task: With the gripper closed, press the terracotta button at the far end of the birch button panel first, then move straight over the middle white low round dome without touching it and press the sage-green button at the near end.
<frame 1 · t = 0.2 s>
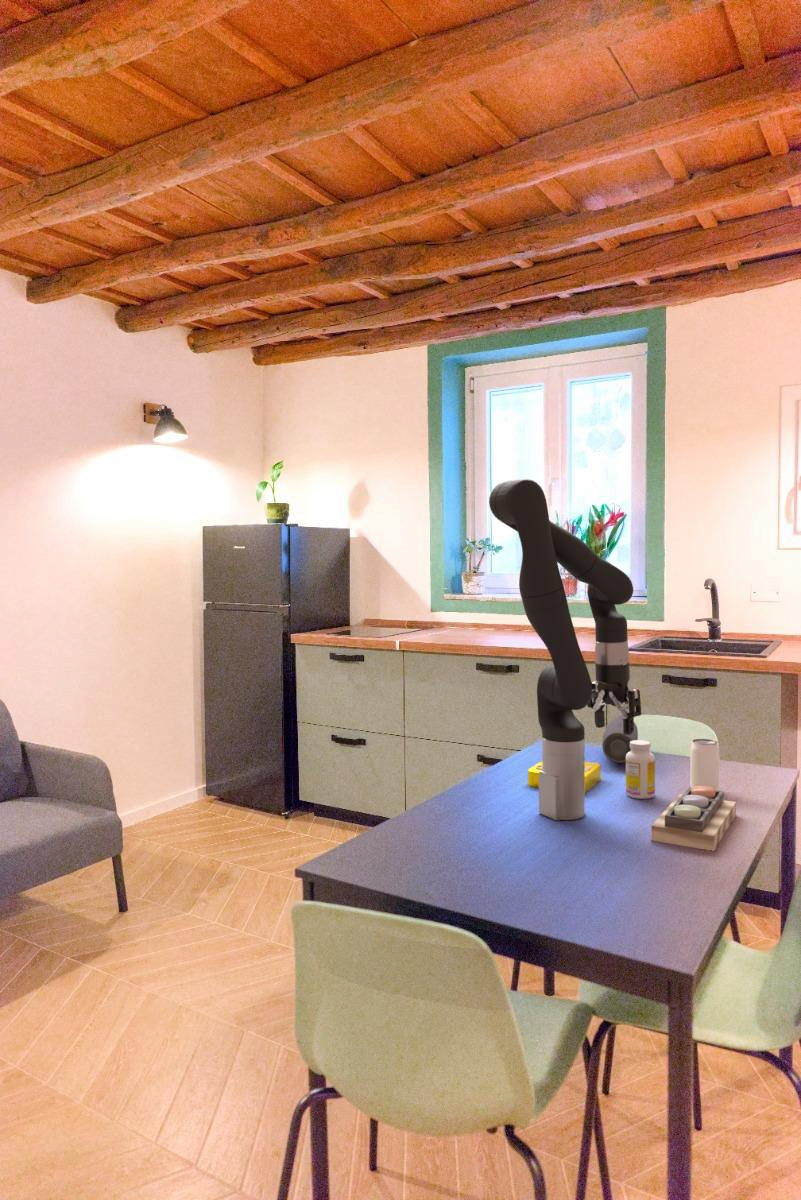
hand: (614, 730, 188), 17 cm above the table, tool pointing down, fingers open, 8 cm apart
button panel: (695, 827, 173), on the table
can: (704, 791, 198), on the table
supplement bottle: (640, 796, 195), on the table
button terracotta: (703, 793, 179), point 5 cm above the table, slide at 0.0 cm
button sage: (687, 812, 166), point 5 cm above the table, slide at 0.0 cm
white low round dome: (695, 802, 173), point 5 cm above the table, slide at 0.0 cm
bluetooth speaker: (620, 757, 231), on the table
element tile: (564, 784, 207), on the table
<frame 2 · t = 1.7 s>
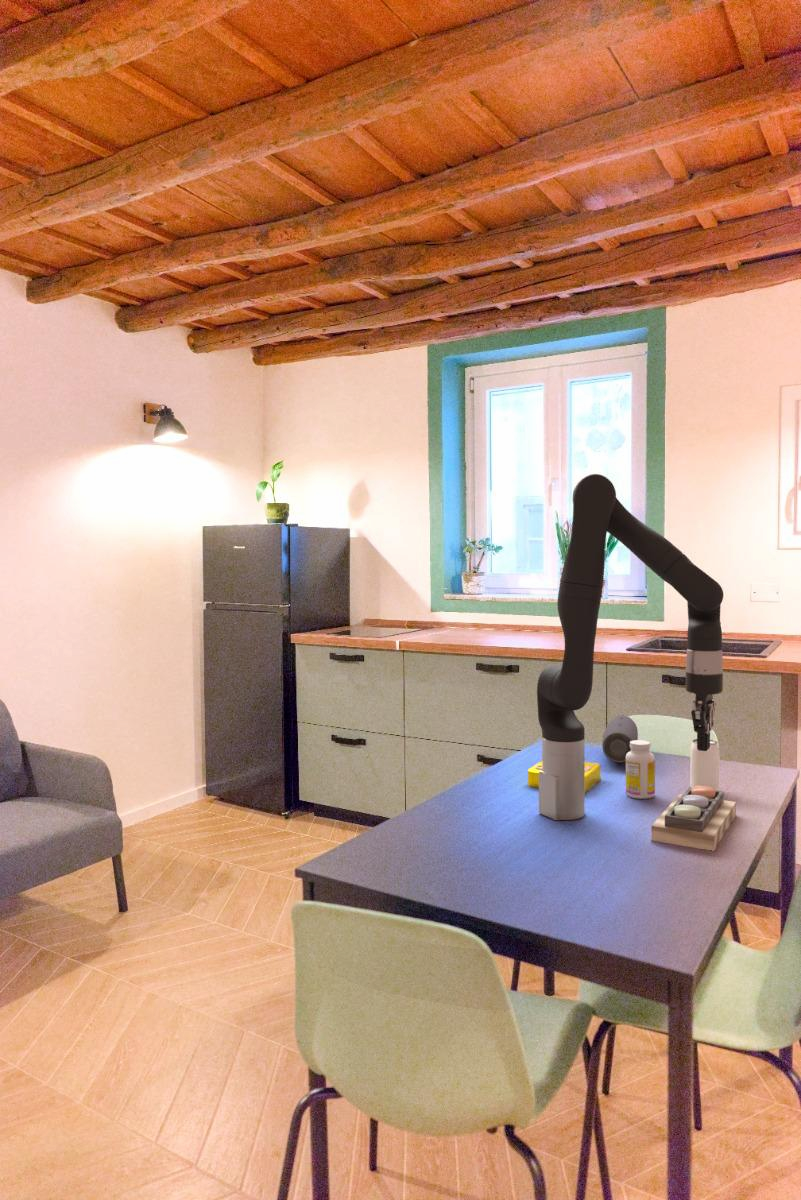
hand: (703, 749, 178), 15 cm above the table, tool pointing down, fingers closed
nothing on the table moved.
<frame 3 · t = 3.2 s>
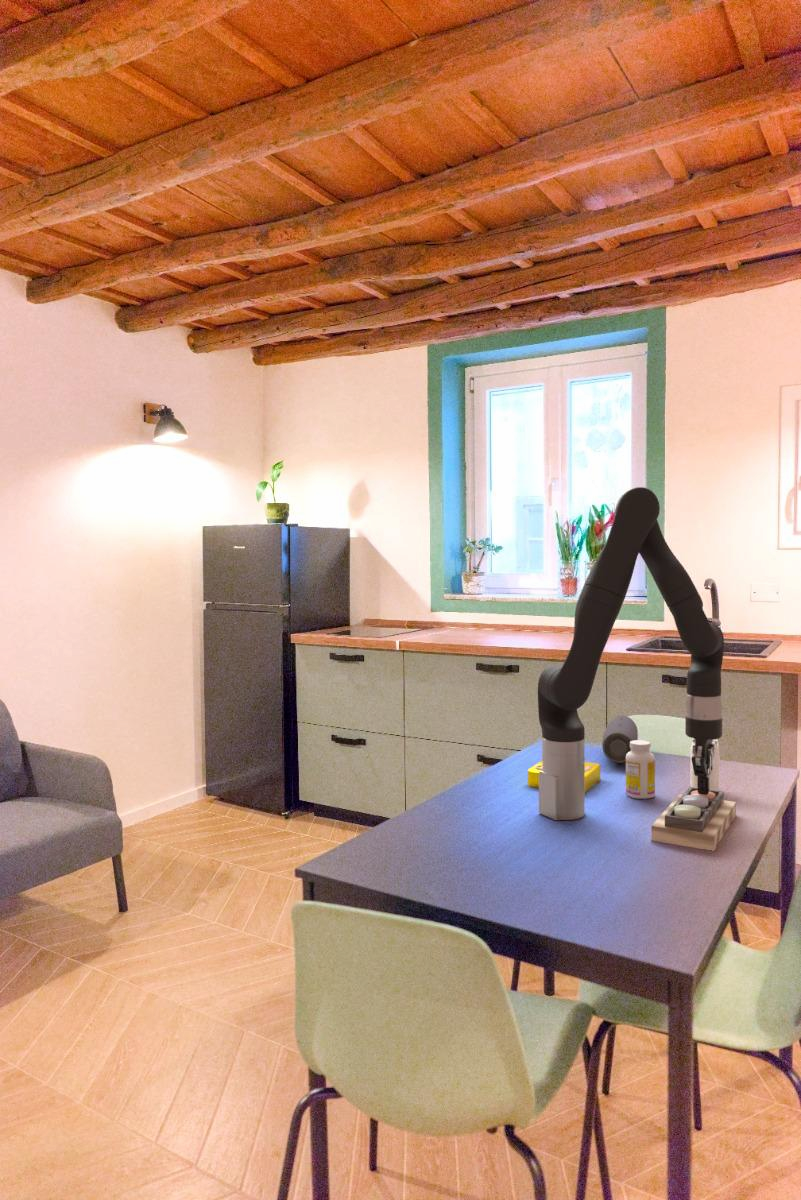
hand: (703, 793, 179), 5 cm above the table, tool pointing down, fingers closed
button terracotta: (703, 797, 179), point 4 cm above the table, slide at 1.0 cm, touching gripper
everything else where it was.
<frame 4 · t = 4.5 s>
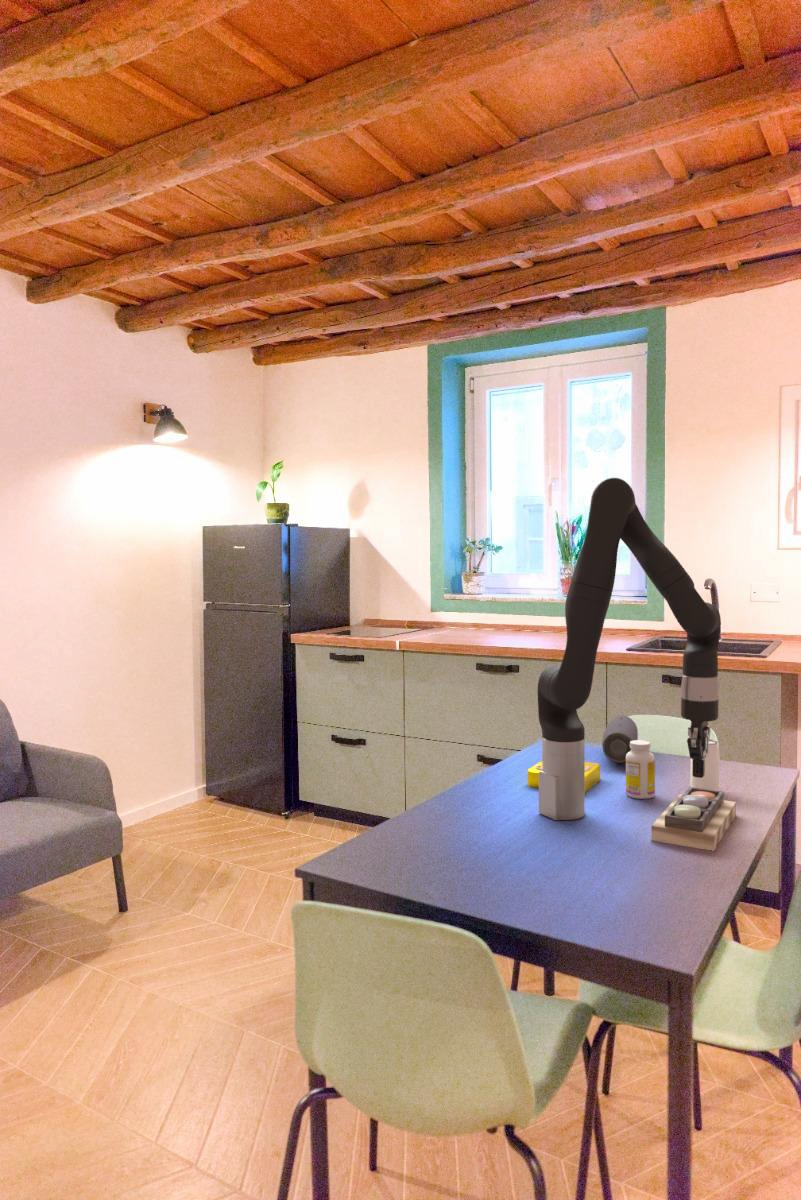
hand: (698, 776, 176), 10 cm above the table, tool pointing down, fingers closed
button terracotta: (703, 798, 179), point 4 cm above the table, slide at 1.3 cm
everything else where it was.
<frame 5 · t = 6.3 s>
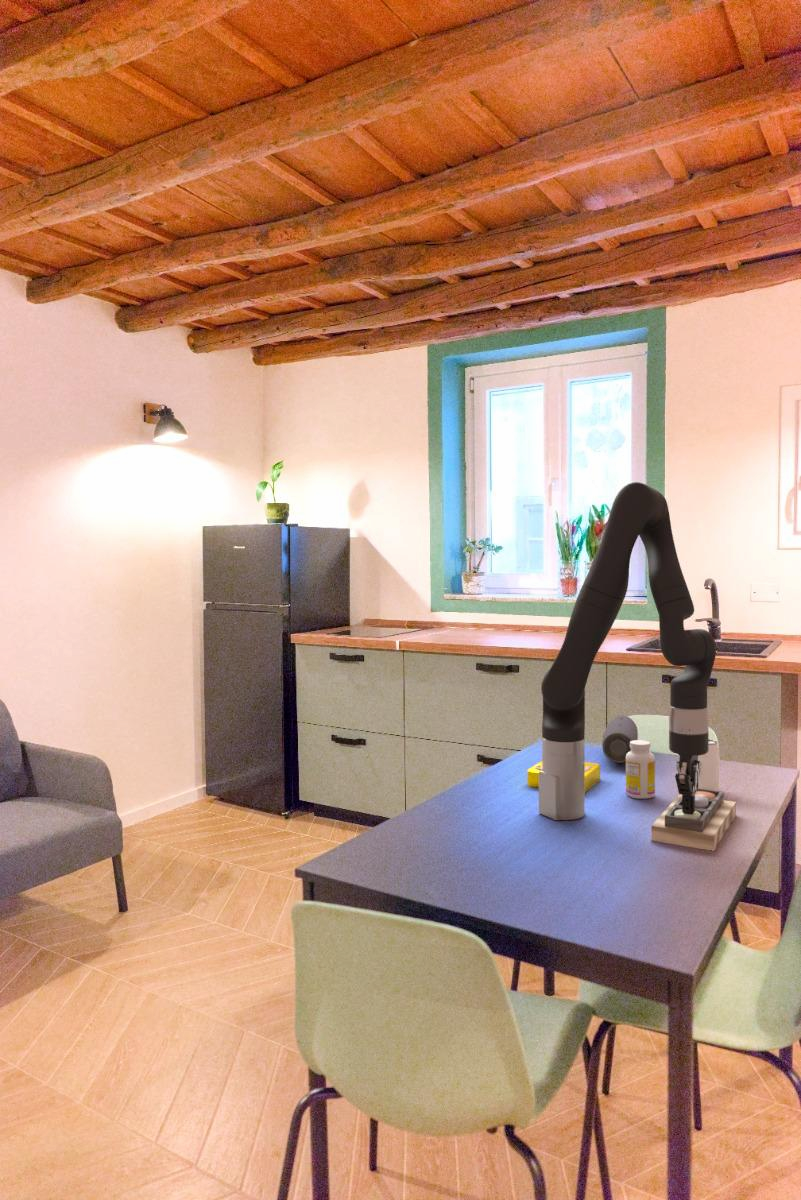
hand: (688, 812, 166), 5 cm above the table, tool pointing down, fingers closed
button sage: (687, 817, 166), point 4 cm above the table, slide at 1.0 cm, touching gripper
everything else where it was.
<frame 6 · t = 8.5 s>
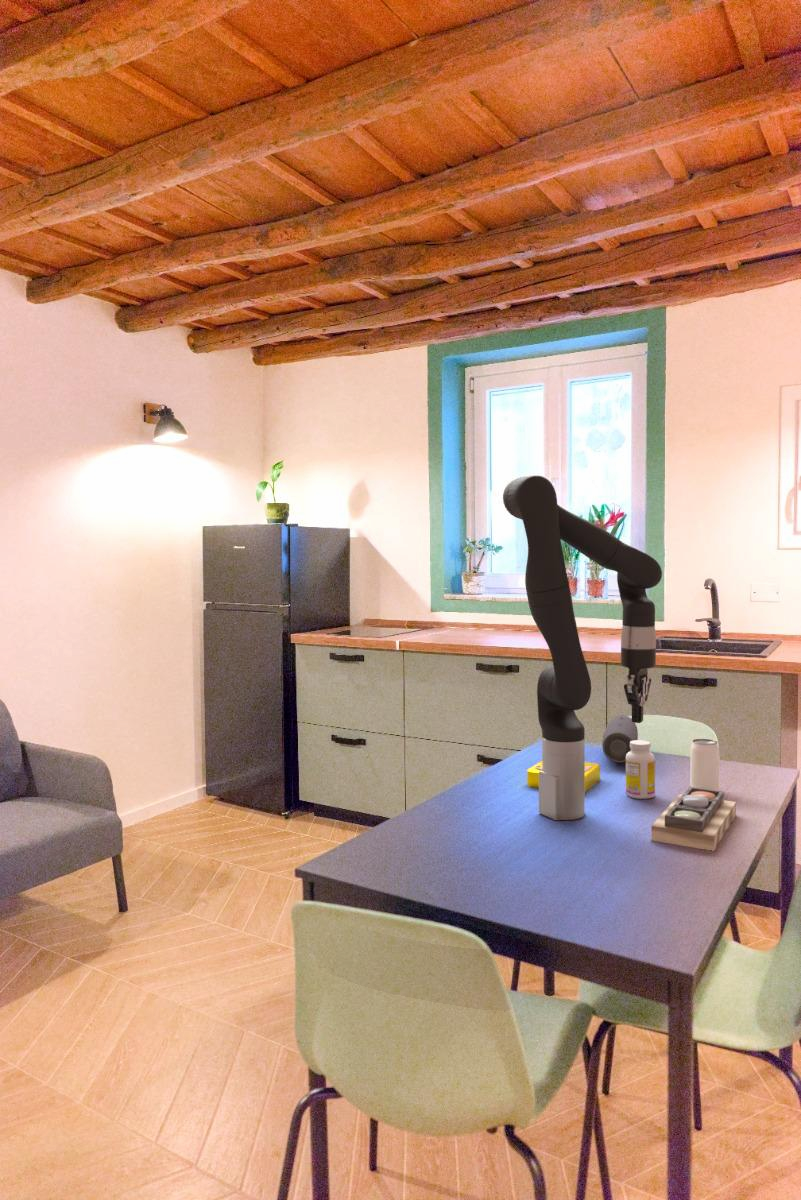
hand: (637, 722, 185), 20 cm above the table, tool pointing down, fingers closed
button sage: (687, 819, 166), point 4 cm above the table, slide at 1.3 cm
everything else where it was.
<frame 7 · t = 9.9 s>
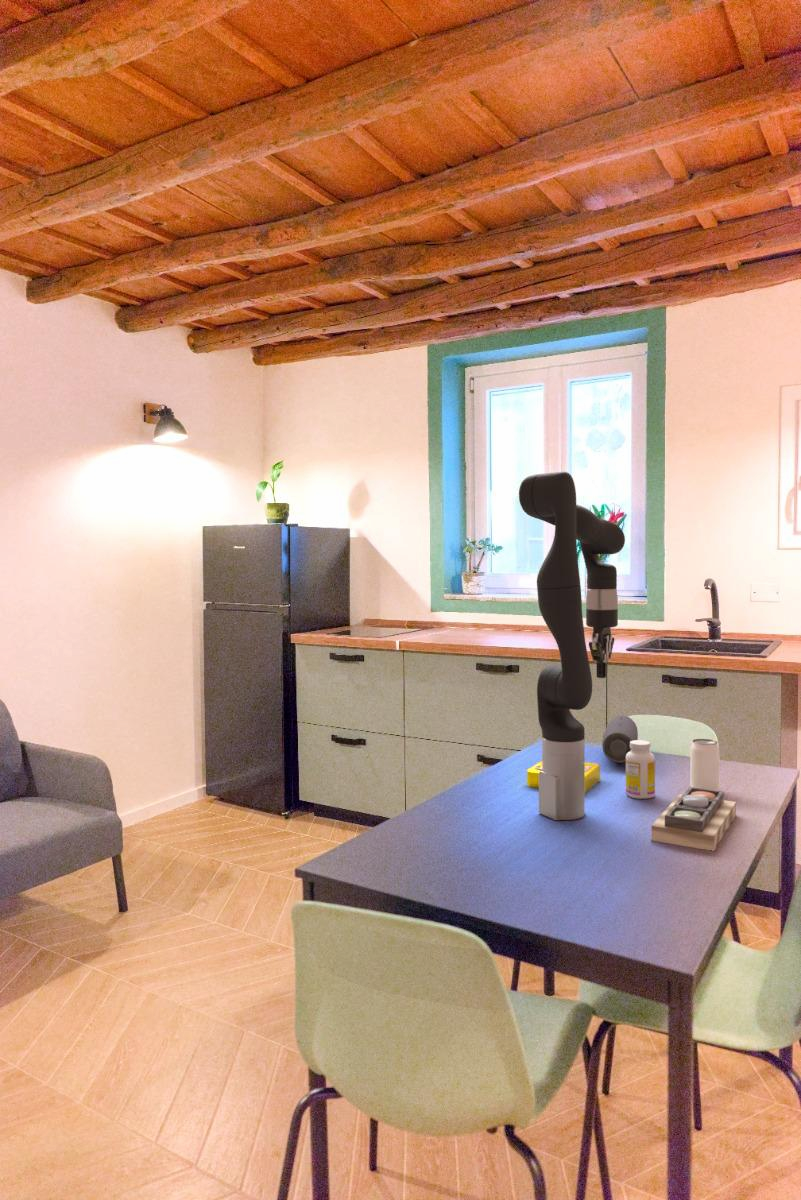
hand: (601, 677, 202), 27 cm above the table, tool pointing down, fingers closed
nothing on the table moved.
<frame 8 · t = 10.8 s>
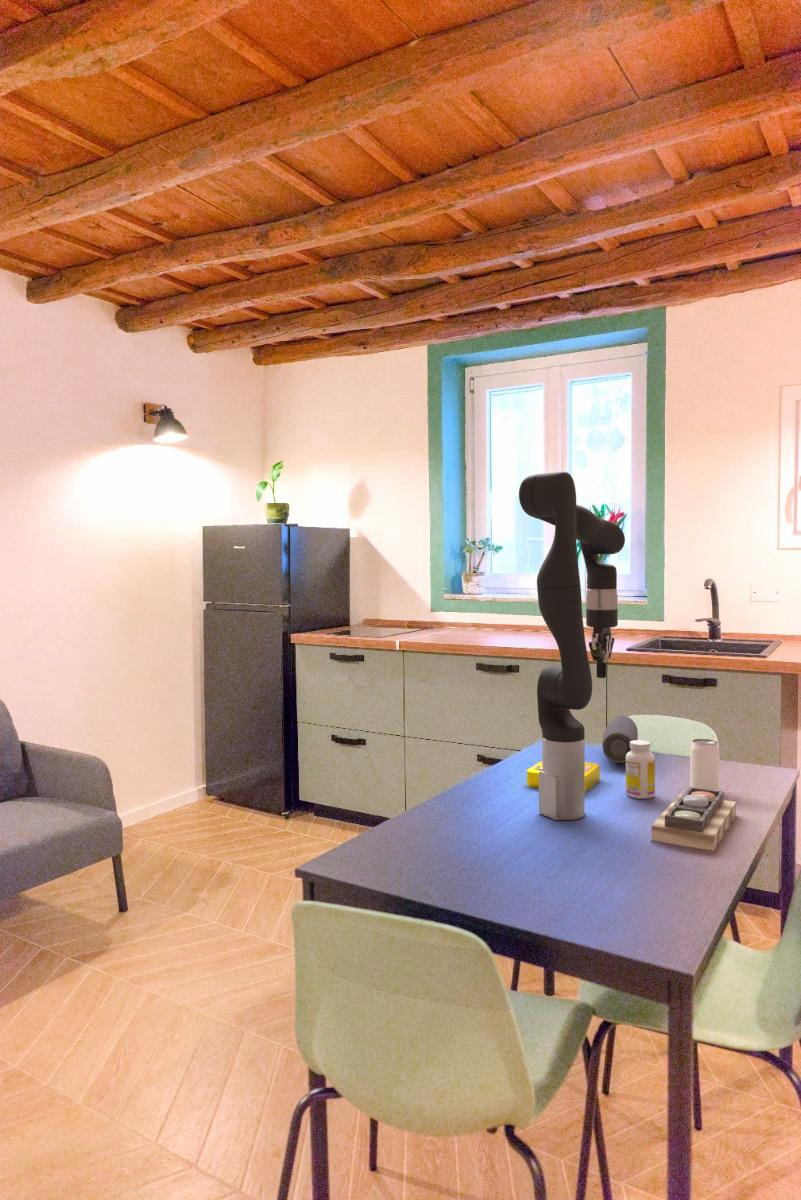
hand: (601, 677, 202), 27 cm above the table, tool pointing down, fingers closed
nothing on the table moved.
at the end: button terracotta slide at 1.3 cm; button sage slide at 1.3 cm; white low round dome slide at 0.0 cm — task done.
